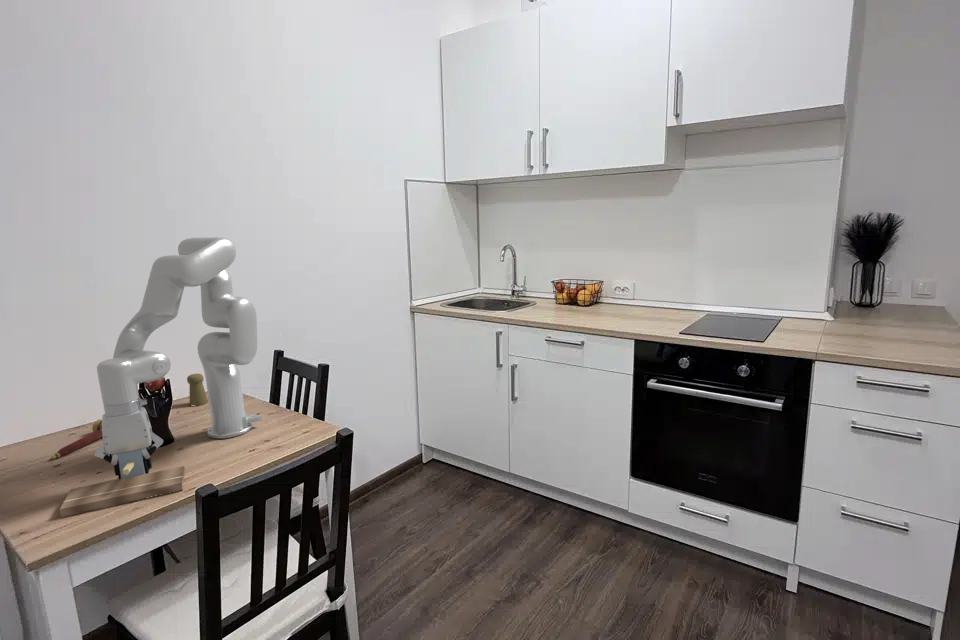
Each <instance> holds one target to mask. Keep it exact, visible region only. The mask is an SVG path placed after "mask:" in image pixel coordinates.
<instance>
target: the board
mask: <svg viewBox="0 0 960 640" xmlns="http://www.w3.org/2000/svg"><path fill="white" fill-rule="evenodd" d="M184 476H186V469H185V465H183V466H177V467H174V468H169V469H163V470H159V471H154V472H149V473H148V474H143V475H138V476H133V477H128V478H123V479H119V478H118V479H115V480H110V481H109V480H108V481H104V482H99V483H95V484H91V485H85V486H80V487H76V488H72V489H70V490H69V492H68V494H67V496H66V498H65V499H64V500H63V502H62V504H61V507H59V512H60V517H61V518H65V517H69V516H75V515H78V514H82V513H87V512H91V511H97V510H101V509H105V508H109V507H113V506H119V505H122V504H123V505H124V504H127V503H132V502H131V501H133V502H136V501H135V500H137V501H140V500H139V499H142V500H144V499H143V498H146V499H148V498H147V497H151V496H155V495H160V494H164V495H167V494H166V493H169V494H171V493H170V492H173V493H175V492H174V491H178V492H180V491H179V490H182V491H183V490H184V485H183V483H185V478H184ZM160 496H161V495H160ZM155 497H156V496H155ZM151 498H152V497H151Z"/></svg>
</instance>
